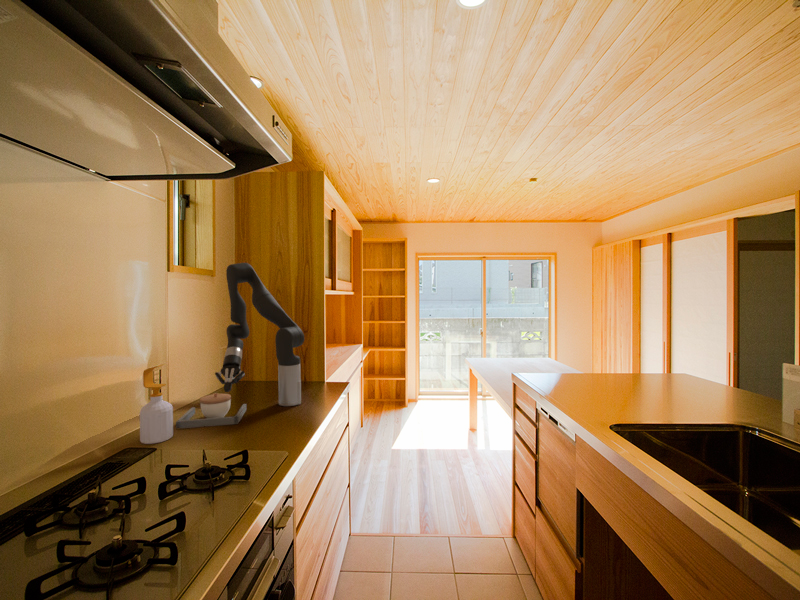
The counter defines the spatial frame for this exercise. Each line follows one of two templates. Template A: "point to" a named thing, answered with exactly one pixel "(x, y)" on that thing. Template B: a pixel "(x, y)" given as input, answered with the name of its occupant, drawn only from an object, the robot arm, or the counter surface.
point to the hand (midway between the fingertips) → (227, 391)
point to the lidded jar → (215, 405)
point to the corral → (208, 419)
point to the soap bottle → (155, 413)
